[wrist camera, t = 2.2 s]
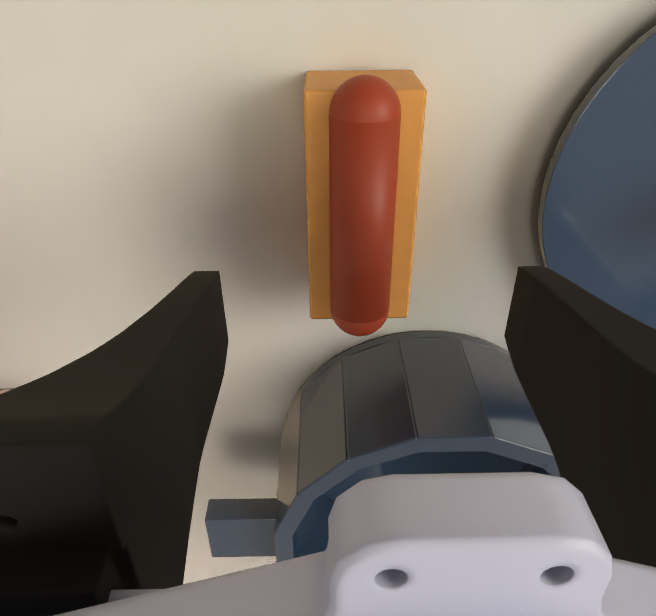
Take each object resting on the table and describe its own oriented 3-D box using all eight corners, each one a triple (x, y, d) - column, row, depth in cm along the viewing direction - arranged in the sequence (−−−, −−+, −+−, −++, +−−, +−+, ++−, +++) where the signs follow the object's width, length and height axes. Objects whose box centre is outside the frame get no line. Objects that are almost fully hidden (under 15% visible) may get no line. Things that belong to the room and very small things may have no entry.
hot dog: (304, 56, 18) (301, 83, 14) (414, 55, 18) (435, 82, 14) (311, 288, 22) (310, 348, 19) (398, 287, 22) (411, 347, 19)
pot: (210, 333, 23) (180, 441, 18) (641, 327, 23) (729, 433, 18) (239, 522, 30) (223, 638, 25) (572, 517, 30) (622, 632, 25)
